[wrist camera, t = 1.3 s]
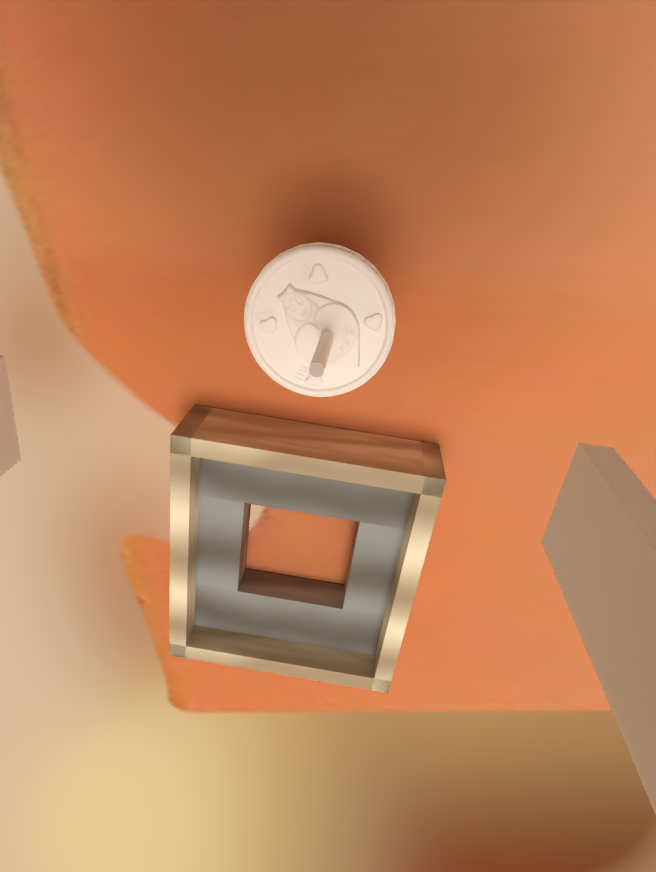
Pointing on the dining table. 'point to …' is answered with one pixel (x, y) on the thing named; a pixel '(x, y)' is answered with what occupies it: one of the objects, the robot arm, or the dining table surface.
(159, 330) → the dining table surface
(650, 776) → the robot arm
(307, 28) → the dining table surface
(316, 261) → the smoothie
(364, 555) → the socket box
